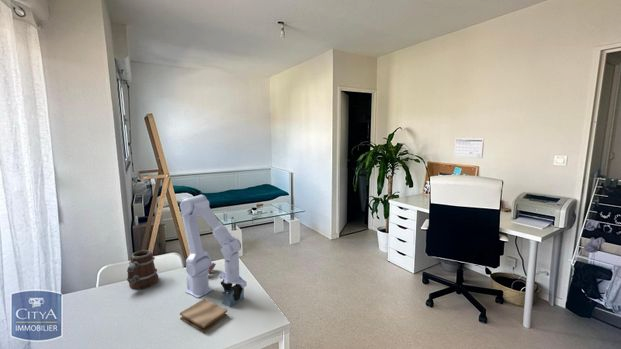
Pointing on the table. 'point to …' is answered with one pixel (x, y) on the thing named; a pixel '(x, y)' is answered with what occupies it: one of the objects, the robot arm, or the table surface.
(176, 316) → the table surface
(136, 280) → the brown wooden bucket
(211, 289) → the robot arm
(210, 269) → the video game controller
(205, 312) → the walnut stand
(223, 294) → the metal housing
